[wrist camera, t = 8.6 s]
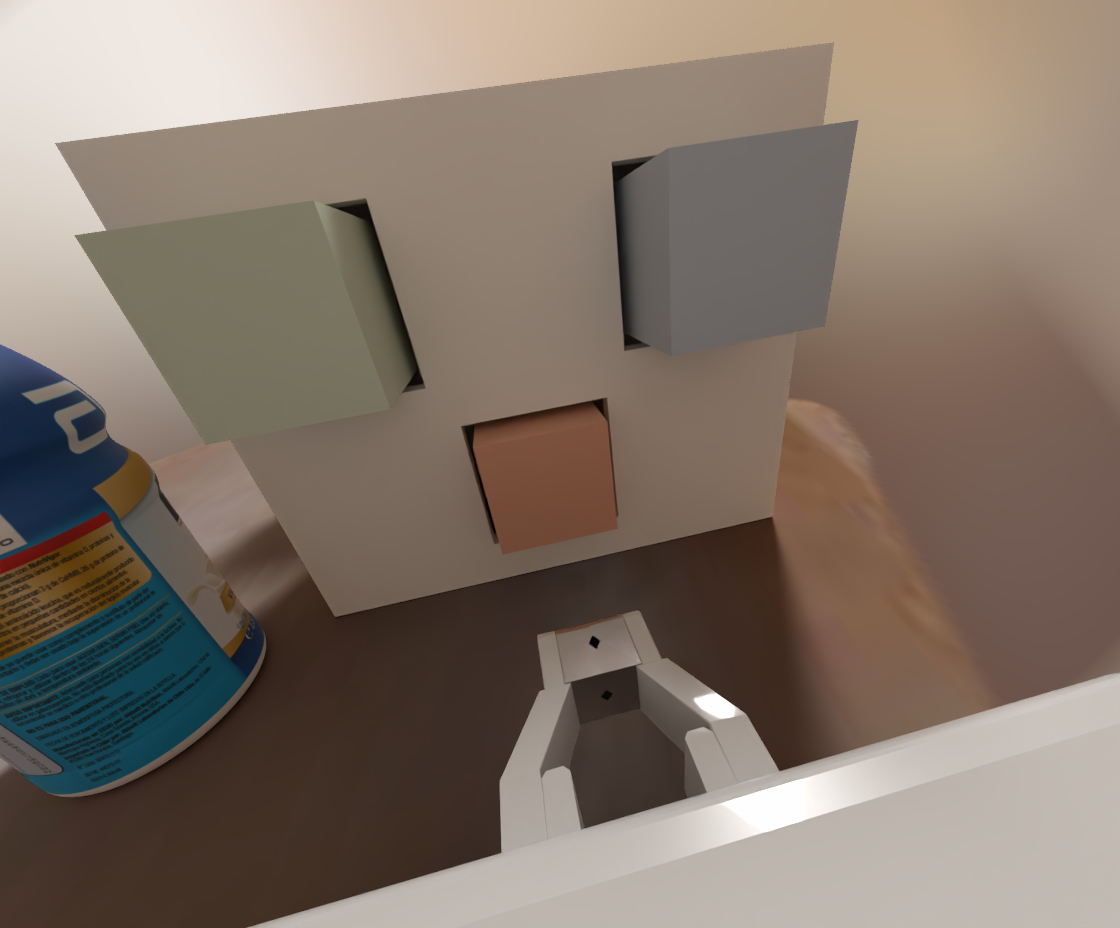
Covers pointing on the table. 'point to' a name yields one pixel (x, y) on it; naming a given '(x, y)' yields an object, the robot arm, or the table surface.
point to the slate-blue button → (732, 237)
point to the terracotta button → (547, 475)
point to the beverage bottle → (101, 600)
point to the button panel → (492, 307)
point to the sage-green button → (261, 315)
